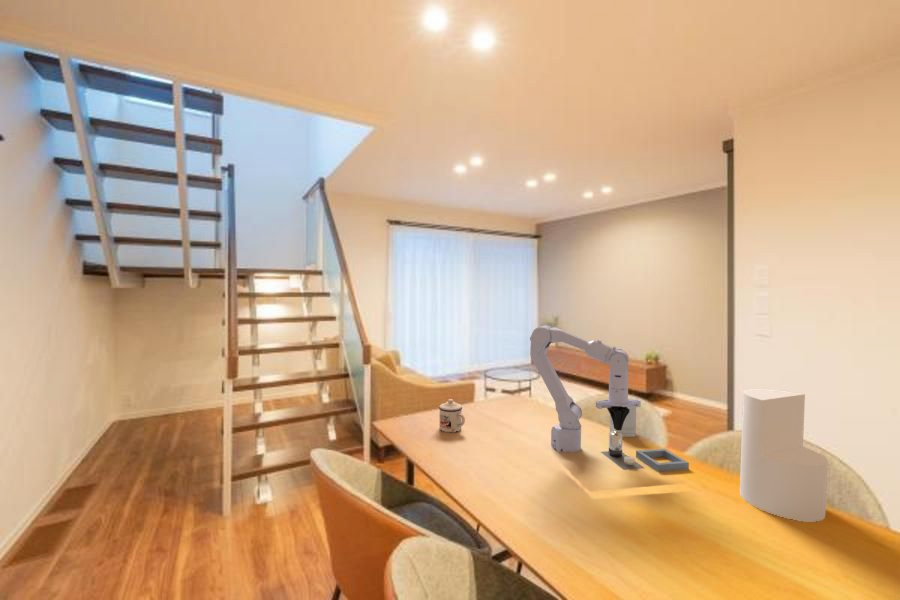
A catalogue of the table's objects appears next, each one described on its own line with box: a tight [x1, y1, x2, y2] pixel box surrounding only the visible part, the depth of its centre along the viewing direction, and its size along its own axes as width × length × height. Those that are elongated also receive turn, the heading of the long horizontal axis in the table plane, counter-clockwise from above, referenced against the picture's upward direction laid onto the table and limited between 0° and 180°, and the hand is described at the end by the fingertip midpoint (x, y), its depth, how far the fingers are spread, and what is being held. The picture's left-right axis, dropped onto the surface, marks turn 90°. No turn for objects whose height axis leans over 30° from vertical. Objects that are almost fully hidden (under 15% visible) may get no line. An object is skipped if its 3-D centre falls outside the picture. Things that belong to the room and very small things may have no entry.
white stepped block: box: [739, 388, 829, 523], centre depth 104 cm, size 17×17×28 cm
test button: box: [624, 455, 636, 465], centre depth 123 cm, size 3×3×2 cm
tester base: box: [600, 450, 645, 471], centre depth 127 cm, size 13×7×2 cm, turn 9°
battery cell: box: [608, 431, 624, 458], centre depth 130 cm, size 4×4×8 cm
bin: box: [635, 448, 690, 472], centre depth 125 cm, size 10×10×4 cm
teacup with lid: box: [438, 398, 466, 433], centre depth 156 cm, size 12×9×12 cm
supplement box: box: [609, 407, 637, 438], centre depth 150 cm, size 7×7×13 cm
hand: (617, 429), depth 129 cm, fingers closed
